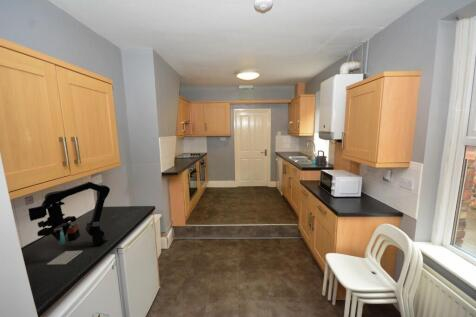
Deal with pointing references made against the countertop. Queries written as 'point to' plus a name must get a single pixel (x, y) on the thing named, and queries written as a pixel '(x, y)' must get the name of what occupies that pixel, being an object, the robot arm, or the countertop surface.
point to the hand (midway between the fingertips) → (61, 238)
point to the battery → (73, 232)
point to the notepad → (64, 258)
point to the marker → (61, 236)
